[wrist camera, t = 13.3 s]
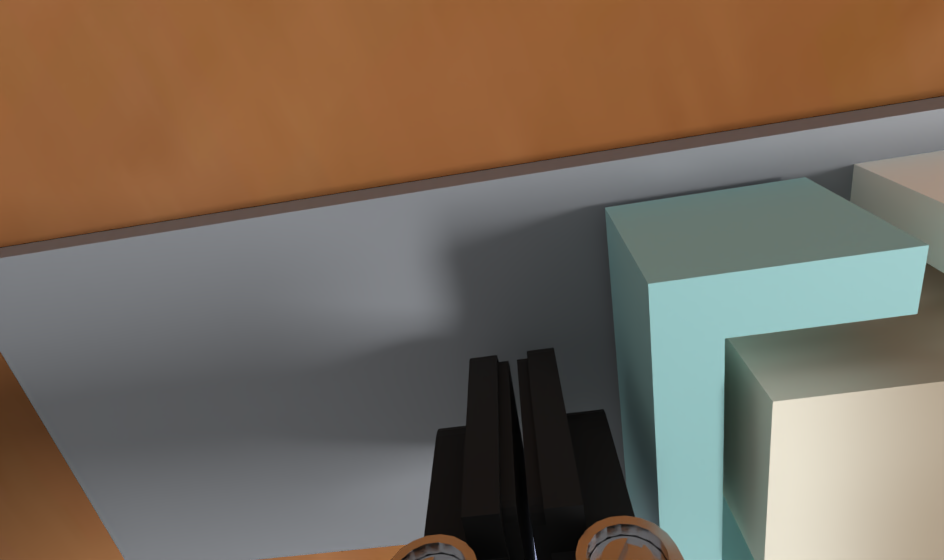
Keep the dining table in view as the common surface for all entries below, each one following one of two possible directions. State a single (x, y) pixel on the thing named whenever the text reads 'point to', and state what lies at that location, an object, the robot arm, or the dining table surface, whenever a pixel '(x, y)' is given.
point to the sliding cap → (729, 324)
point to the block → (839, 437)
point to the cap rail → (371, 327)
